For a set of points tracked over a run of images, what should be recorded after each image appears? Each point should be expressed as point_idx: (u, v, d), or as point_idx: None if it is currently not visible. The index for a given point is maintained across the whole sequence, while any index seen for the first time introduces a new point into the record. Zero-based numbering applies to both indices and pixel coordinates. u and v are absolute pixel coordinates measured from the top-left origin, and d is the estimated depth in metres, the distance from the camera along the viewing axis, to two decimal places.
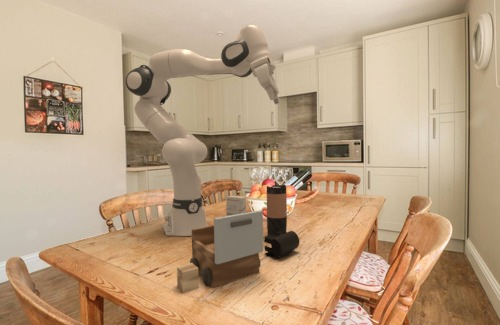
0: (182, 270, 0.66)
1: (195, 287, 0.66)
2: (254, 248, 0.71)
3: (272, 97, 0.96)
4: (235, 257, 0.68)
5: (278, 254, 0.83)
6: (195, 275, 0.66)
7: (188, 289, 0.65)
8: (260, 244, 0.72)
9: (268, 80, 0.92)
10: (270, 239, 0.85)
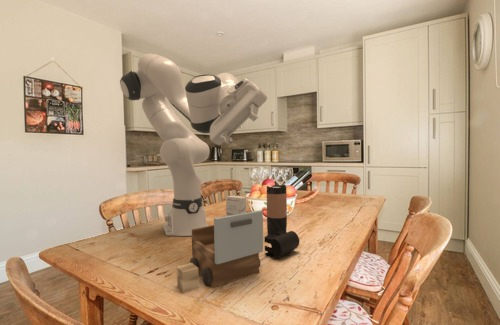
0: (182, 270, 0.66)
1: (195, 287, 0.66)
2: (254, 248, 0.71)
3: (255, 115, 0.70)
4: (235, 257, 0.68)
5: (278, 254, 0.83)
6: (195, 275, 0.66)
7: (188, 289, 0.65)
8: (260, 244, 0.72)
9: (266, 97, 0.72)
10: (270, 239, 0.85)
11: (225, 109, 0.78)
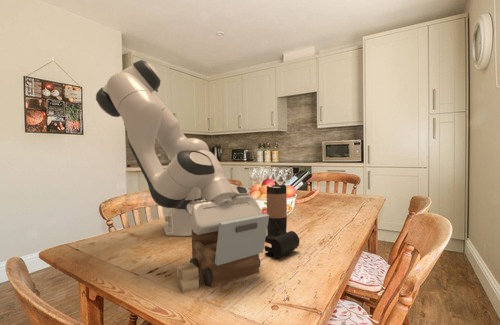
0: (182, 270, 0.66)
1: (195, 287, 0.66)
2: (255, 250, 0.71)
3: None
4: (235, 258, 0.68)
5: (278, 254, 0.83)
6: (195, 275, 0.66)
7: (188, 289, 0.65)
8: (261, 246, 0.72)
9: None
10: (270, 239, 0.85)
11: (221, 203, 0.72)
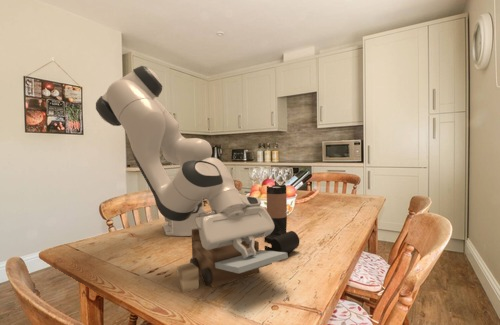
0: (182, 270, 0.66)
1: (195, 287, 0.66)
2: None
3: None
4: None
5: None
6: (195, 275, 0.66)
7: (188, 289, 0.65)
8: None
9: None
10: (270, 239, 0.85)
11: (232, 215, 0.68)
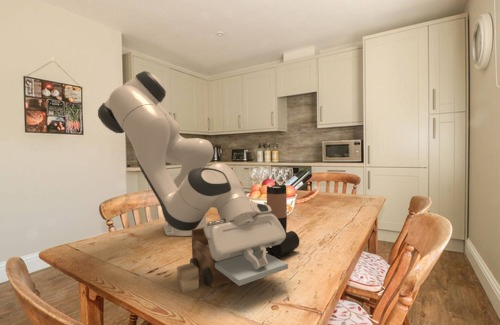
0: (182, 270, 0.66)
1: (195, 287, 0.66)
2: None
3: None
4: None
5: (278, 254, 0.83)
6: (195, 275, 0.66)
7: (188, 289, 0.65)
8: None
9: None
10: None
11: (242, 223, 0.65)
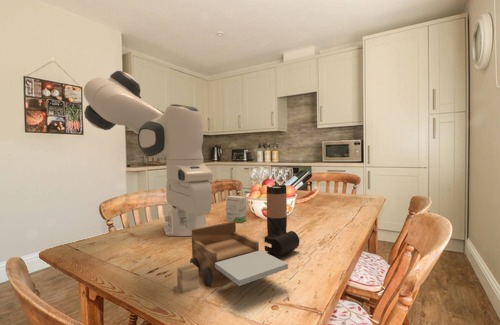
0: (182, 270, 0.66)
1: (195, 287, 0.66)
2: None
3: (192, 227, 0.64)
4: None
5: (278, 254, 0.83)
6: (195, 275, 0.66)
7: (188, 289, 0.65)
8: None
9: (208, 211, 0.59)
10: (270, 239, 0.85)
11: None
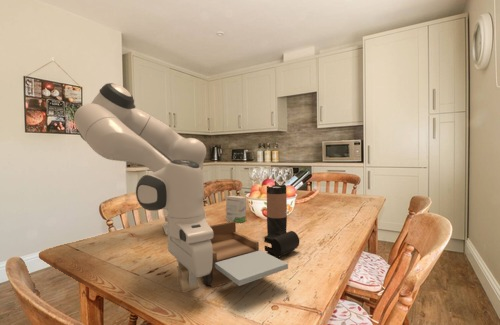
0: (182, 270, 0.66)
1: (195, 287, 0.66)
2: None
3: (194, 283, 0.65)
4: None
5: (278, 254, 0.83)
6: None
7: (188, 289, 0.65)
8: None
9: (209, 271, 0.60)
10: (270, 239, 0.85)
11: None
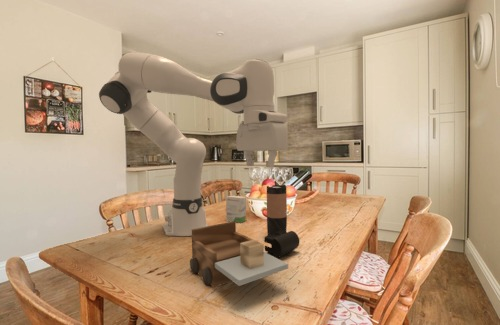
0: (248, 246, 0.63)
1: (260, 264, 0.64)
2: None
3: (272, 165, 0.73)
4: None
5: (278, 254, 0.83)
6: (260, 251, 0.64)
7: (254, 265, 0.63)
8: None
9: (286, 147, 0.70)
10: (270, 239, 0.85)
11: (249, 130, 0.77)
